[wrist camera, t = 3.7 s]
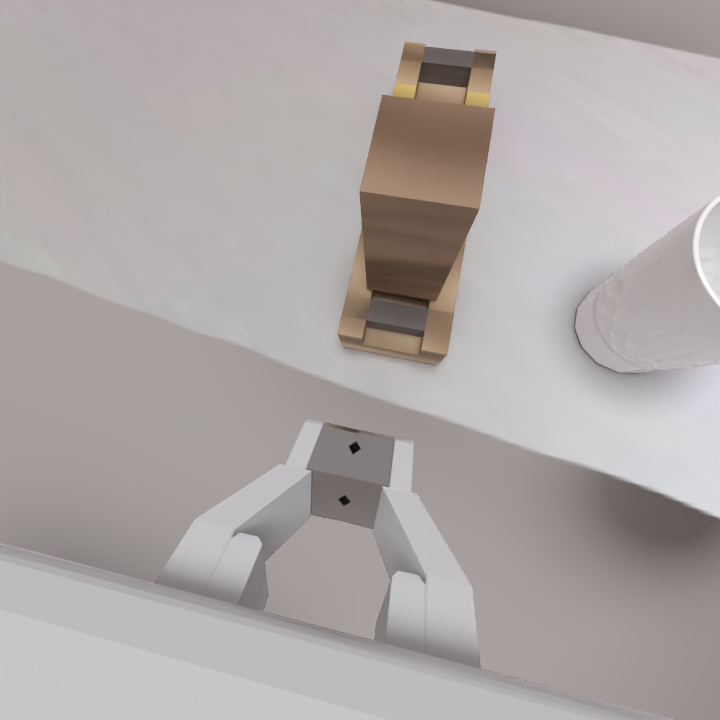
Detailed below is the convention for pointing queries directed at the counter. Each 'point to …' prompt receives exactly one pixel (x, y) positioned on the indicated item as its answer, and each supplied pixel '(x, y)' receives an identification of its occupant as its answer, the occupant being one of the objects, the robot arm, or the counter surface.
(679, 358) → the white cup
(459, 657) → the robot arm
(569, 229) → the counter surface
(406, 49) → the beam
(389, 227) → the plate
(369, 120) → the counter surface
